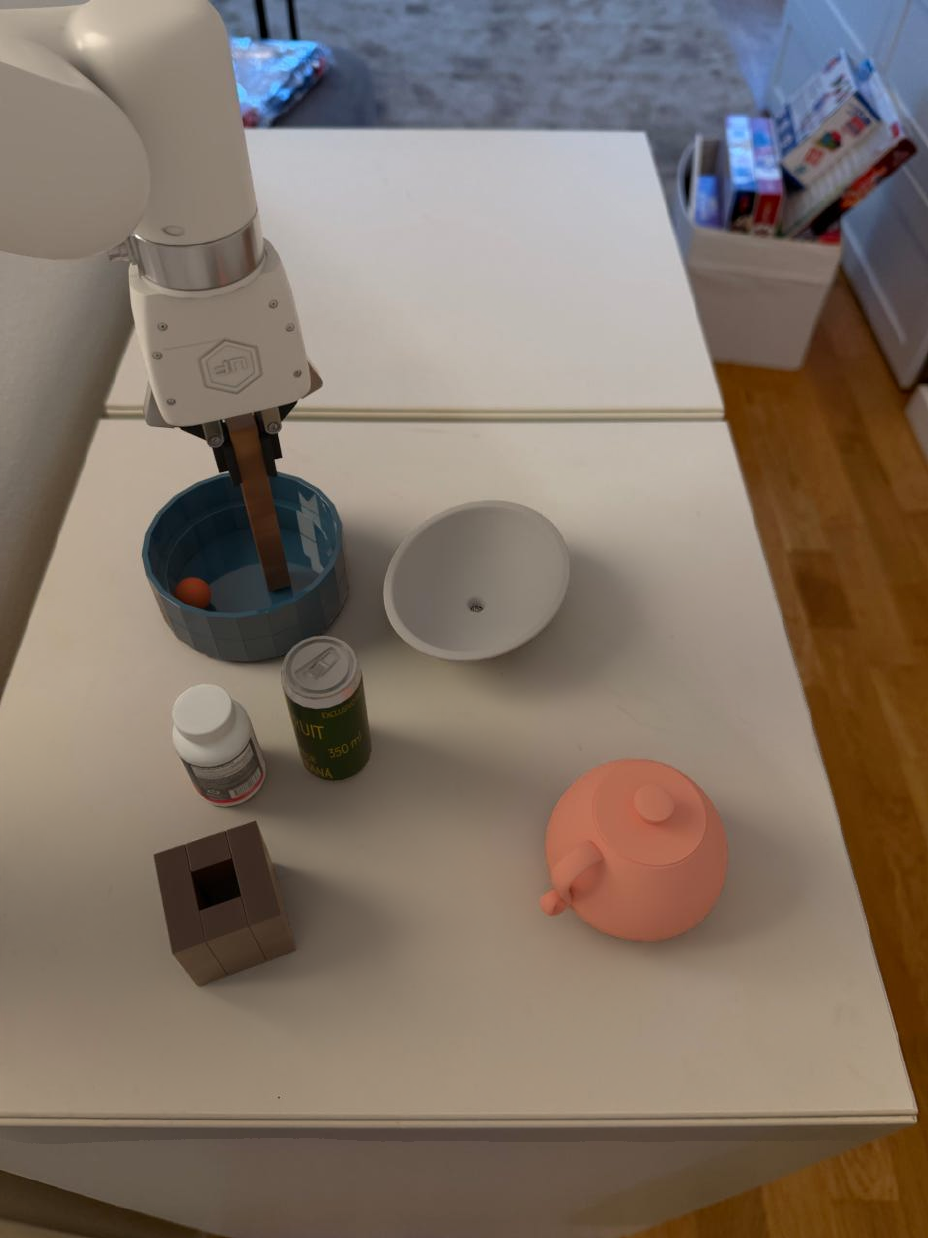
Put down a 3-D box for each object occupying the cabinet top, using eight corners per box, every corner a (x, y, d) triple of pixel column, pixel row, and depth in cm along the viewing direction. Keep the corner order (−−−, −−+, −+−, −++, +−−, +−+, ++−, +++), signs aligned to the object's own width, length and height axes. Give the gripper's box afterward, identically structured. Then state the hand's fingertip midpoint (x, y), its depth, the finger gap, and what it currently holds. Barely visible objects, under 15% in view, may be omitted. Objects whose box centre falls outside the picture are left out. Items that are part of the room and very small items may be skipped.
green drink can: (335, 711, 73) (318, 620, 63) (386, 749, 71) (377, 661, 61) (287, 758, 70) (261, 670, 61) (338, 799, 68) (320, 715, 59)
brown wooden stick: (268, 592, 79) (228, 431, 64) (263, 575, 80) (222, 413, 65) (291, 586, 79) (257, 424, 65) (285, 569, 80) (250, 407, 66)
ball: (206, 617, 79) (176, 622, 76) (191, 587, 79) (161, 591, 77) (223, 599, 77) (193, 603, 74) (208, 568, 77) (178, 572, 75)
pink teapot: (752, 892, 64) (796, 831, 56) (592, 1003, 60) (614, 955, 52) (642, 759, 70) (667, 686, 62) (489, 850, 66) (494, 785, 58)
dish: (501, 725, 72) (505, 691, 68) (348, 649, 76) (343, 613, 72) (596, 575, 81) (604, 537, 77) (455, 515, 86) (455, 476, 82)
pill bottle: (194, 749, 70) (162, 679, 63) (265, 739, 71) (242, 668, 63) (194, 814, 67) (160, 748, 59) (268, 803, 68) (244, 737, 60)
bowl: (181, 689, 74) (161, 642, 69) (148, 547, 83) (127, 496, 78) (372, 633, 77) (367, 584, 72) (320, 502, 86) (312, 450, 81)
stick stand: (197, 987, 60) (171, 953, 54) (178, 894, 64) (152, 854, 58) (296, 950, 62) (281, 914, 56) (272, 862, 65) (255, 819, 60)
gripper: (65, 303, 50) (152, 531, 65) (346, 248, 54) (368, 477, 69) (51, 232, 54) (135, 462, 69) (312, 186, 58) (340, 414, 73)
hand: (251, 468), depth 69 cm, fingers closed on brown wooden stick, 2 cm apart
